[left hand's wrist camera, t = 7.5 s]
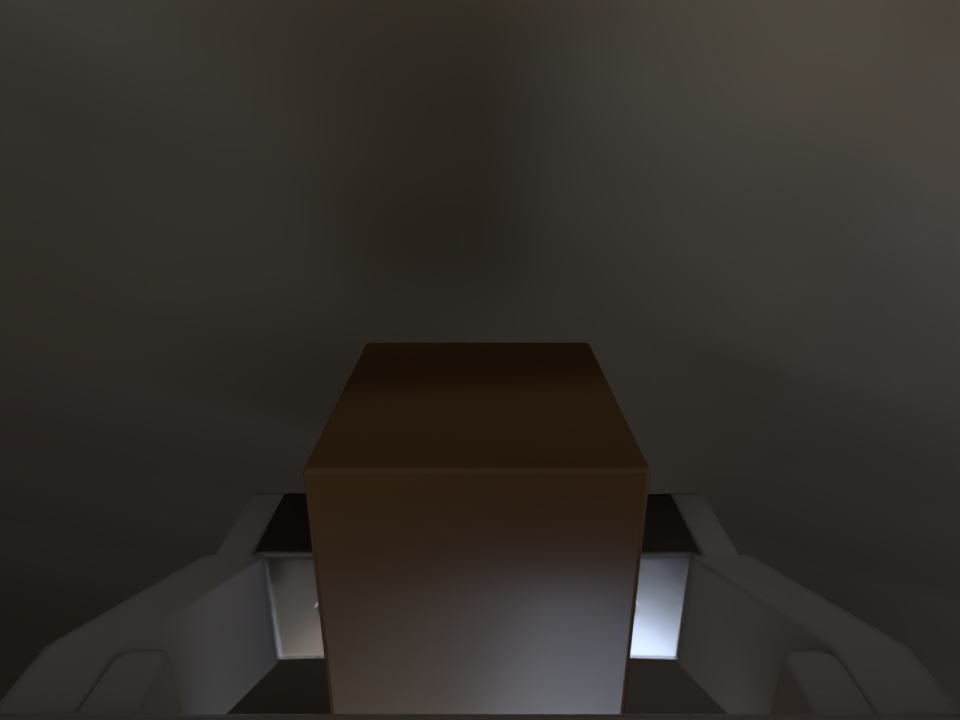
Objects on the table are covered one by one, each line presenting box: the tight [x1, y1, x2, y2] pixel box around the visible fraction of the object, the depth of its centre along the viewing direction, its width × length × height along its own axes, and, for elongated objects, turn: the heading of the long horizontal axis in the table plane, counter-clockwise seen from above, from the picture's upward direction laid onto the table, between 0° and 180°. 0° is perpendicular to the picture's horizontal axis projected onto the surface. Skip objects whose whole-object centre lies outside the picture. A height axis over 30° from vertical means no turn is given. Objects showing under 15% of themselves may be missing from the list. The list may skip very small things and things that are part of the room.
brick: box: [303, 343, 650, 714], centre depth 10 cm, size 5×4×4 cm
